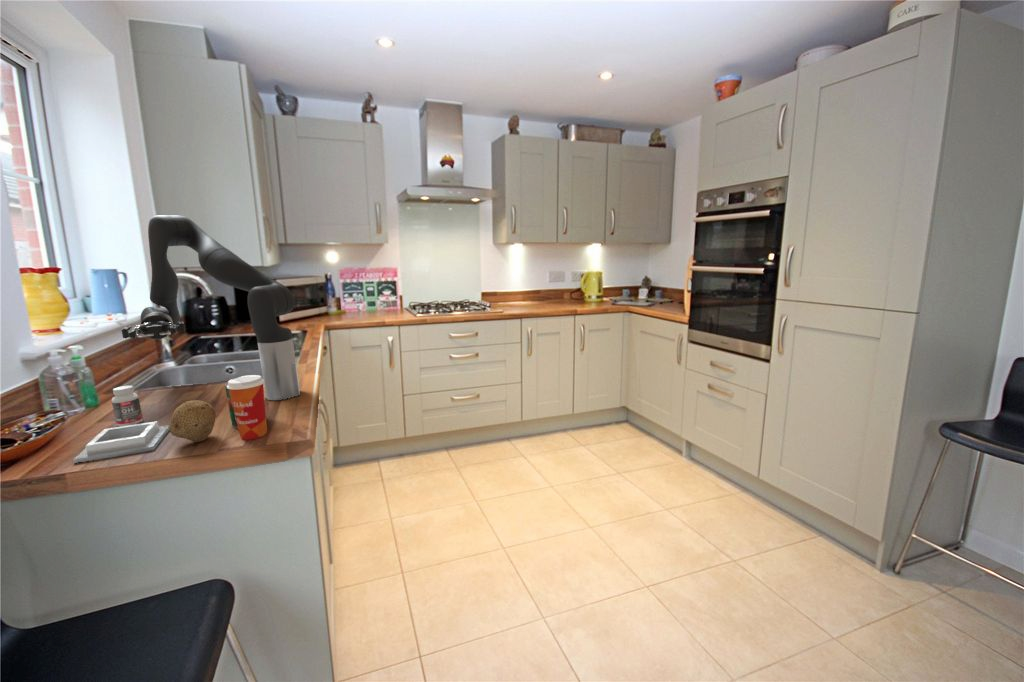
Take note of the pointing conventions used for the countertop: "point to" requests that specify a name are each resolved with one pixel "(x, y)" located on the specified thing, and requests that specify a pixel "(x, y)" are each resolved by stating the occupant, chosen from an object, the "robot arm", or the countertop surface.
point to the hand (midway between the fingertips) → (152, 333)
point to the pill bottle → (126, 406)
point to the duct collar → (123, 441)
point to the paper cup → (248, 405)
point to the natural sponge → (193, 420)
